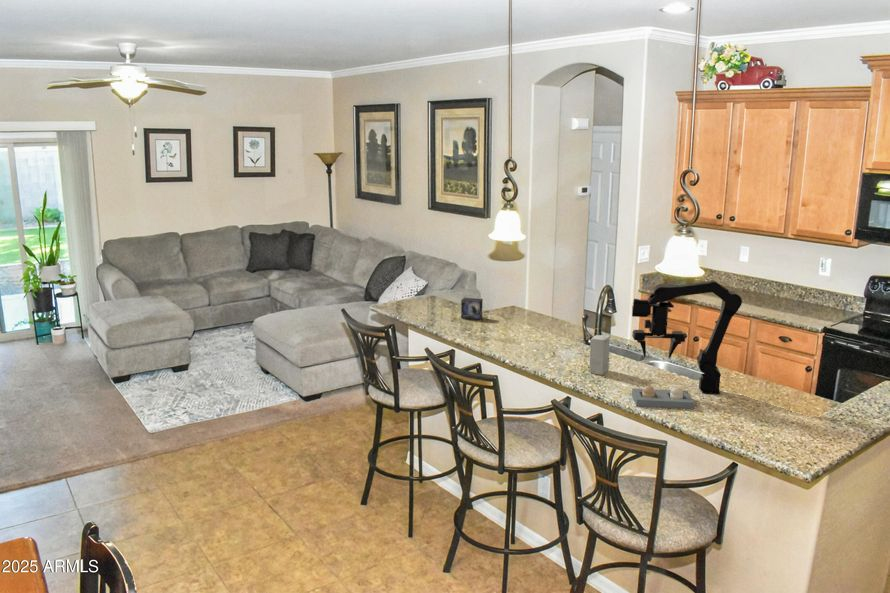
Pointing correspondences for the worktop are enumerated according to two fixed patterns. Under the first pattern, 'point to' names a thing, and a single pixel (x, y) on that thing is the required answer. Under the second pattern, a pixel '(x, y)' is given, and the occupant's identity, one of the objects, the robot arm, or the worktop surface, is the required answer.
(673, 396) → the egg
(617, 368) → the worktop surface
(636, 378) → the worktop surface
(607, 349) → the skincare box
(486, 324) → the worktop surface
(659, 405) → the egg carton
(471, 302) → the small box
